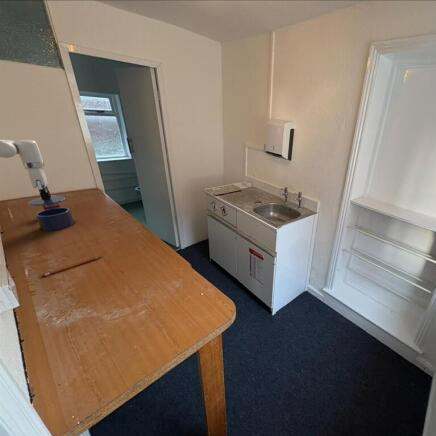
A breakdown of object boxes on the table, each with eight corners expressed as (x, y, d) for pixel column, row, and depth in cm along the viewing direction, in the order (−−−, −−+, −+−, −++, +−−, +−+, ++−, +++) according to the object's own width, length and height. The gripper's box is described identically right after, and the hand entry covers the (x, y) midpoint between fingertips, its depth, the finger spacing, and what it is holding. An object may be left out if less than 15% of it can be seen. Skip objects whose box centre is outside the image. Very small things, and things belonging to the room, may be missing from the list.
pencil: (43, 276, 94) (42, 274, 93) (100, 257, 107) (99, 255, 107) (43, 277, 93) (42, 275, 93) (100, 258, 107) (100, 256, 106)
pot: (40, 232, 125) (33, 218, 122) (43, 224, 135) (37, 210, 132) (73, 226, 133) (68, 213, 130) (74, 218, 143) (69, 206, 140)
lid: (26, 208, 119) (21, 195, 116) (31, 200, 129) (26, 188, 126) (65, 203, 127) (61, 192, 125) (66, 196, 138) (63, 185, 135)
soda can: (45, 214, 146) (37, 196, 141) (60, 211, 152) (53, 194, 147) (48, 217, 143) (41, 199, 138) (64, 214, 148) (57, 196, 143)
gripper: (26, 163, 124) (39, 195, 131) (20, 168, 112) (34, 204, 119) (46, 162, 128) (57, 193, 135) (42, 167, 117) (54, 201, 124)
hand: (46, 198), depth 127 cm, fingers closed on lid, 3 cm apart
